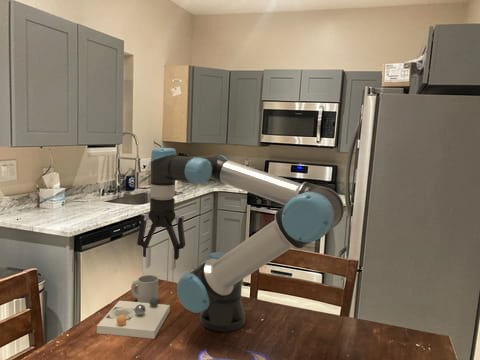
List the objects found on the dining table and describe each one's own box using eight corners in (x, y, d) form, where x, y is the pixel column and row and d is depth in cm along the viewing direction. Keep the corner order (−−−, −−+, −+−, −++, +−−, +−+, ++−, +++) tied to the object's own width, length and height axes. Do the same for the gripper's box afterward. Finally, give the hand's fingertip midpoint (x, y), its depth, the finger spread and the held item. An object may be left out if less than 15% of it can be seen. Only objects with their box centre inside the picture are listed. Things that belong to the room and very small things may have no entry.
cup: (153, 307, 143) (154, 283, 142) (126, 304, 145) (127, 280, 143) (160, 299, 150) (161, 276, 149) (135, 296, 152) (135, 273, 150)
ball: (146, 313, 134) (147, 303, 133) (143, 318, 130) (143, 307, 130) (136, 312, 134) (136, 302, 133) (132, 317, 130) (133, 306, 130)
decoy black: (159, 304, 140) (159, 296, 140) (156, 308, 137) (157, 300, 137) (150, 304, 140) (151, 295, 140) (148, 307, 137) (148, 299, 137)
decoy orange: (128, 322, 127) (128, 313, 126) (124, 327, 124) (124, 318, 123) (118, 321, 127) (118, 312, 126) (114, 326, 124) (115, 317, 124)
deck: (169, 311, 141) (169, 305, 140) (154, 338, 123) (154, 330, 122) (119, 307, 142) (119, 300, 142) (96, 333, 124) (96, 325, 124)
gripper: (197, 197, 129) (194, 266, 132) (134, 193, 131) (133, 261, 134) (192, 201, 122) (189, 274, 125) (126, 197, 123) (125, 269, 126)
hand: (160, 267), depth 129 cm, fingers open, 8 cm apart
